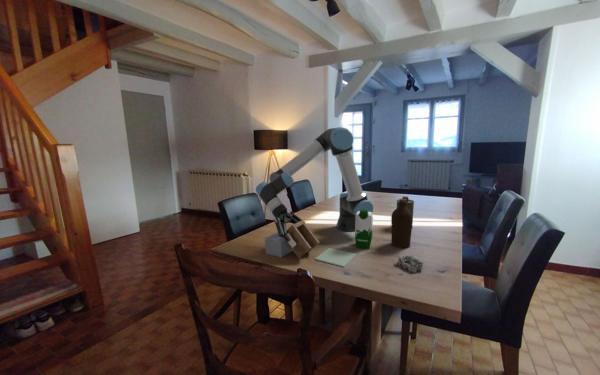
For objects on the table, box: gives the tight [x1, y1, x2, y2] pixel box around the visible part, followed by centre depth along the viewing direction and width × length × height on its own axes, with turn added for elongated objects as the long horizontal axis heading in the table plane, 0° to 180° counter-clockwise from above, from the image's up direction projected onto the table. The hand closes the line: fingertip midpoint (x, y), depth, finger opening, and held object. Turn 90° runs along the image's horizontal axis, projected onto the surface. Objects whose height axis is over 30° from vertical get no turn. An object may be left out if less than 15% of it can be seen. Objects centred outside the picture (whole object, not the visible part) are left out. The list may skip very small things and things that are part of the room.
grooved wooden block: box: [284, 219, 320, 259], centre depth 132 cm, size 16×9×16 cm, turn 57°
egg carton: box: [396, 255, 425, 273], centre depth 119 cm, size 11×8×4 cm
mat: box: [314, 247, 358, 268], centre depth 130 cm, size 15×15×1 cm
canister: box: [396, 195, 415, 229], centre depth 170 cm, size 11×10×20 cm
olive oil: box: [390, 198, 414, 249], centre depth 142 cm, size 11×11×25 cm
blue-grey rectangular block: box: [264, 231, 294, 258], centre depth 139 cm, size 10×16×8 cm, turn 147°
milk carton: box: [354, 209, 374, 250], centre depth 142 cm, size 9×9×20 cm
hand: (302, 241), depth 132 cm, fingers open, 13 cm apart
